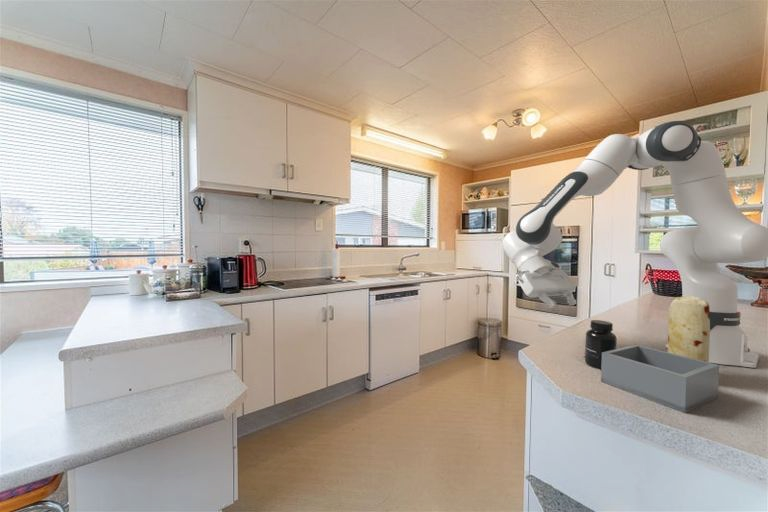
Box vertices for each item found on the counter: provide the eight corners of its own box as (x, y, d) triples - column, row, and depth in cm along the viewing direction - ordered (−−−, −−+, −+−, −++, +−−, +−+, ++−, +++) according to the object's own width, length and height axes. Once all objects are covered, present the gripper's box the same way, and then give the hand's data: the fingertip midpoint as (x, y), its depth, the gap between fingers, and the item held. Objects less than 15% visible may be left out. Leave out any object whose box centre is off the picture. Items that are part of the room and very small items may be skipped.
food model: (718, 386, 69) (721, 300, 69) (682, 382, 71) (685, 299, 71) (690, 370, 79) (692, 294, 78) (658, 367, 81) (661, 293, 80)
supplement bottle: (582, 365, 81) (583, 321, 81) (587, 359, 86) (588, 317, 86) (614, 373, 76) (615, 326, 76) (617, 365, 81) (618, 321, 81)
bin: (635, 371, 78) (635, 344, 78) (718, 397, 64) (719, 365, 64) (601, 381, 71) (601, 352, 71) (685, 413, 58) (686, 377, 58)
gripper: (519, 264, 92) (547, 301, 84) (562, 264, 101) (592, 297, 93) (507, 278, 97) (533, 314, 88) (549, 276, 105) (577, 308, 97)
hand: (564, 305), depth 90 cm, fingers open, 8 cm apart
